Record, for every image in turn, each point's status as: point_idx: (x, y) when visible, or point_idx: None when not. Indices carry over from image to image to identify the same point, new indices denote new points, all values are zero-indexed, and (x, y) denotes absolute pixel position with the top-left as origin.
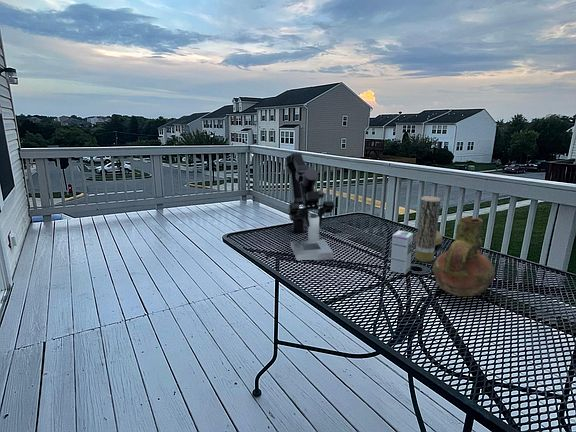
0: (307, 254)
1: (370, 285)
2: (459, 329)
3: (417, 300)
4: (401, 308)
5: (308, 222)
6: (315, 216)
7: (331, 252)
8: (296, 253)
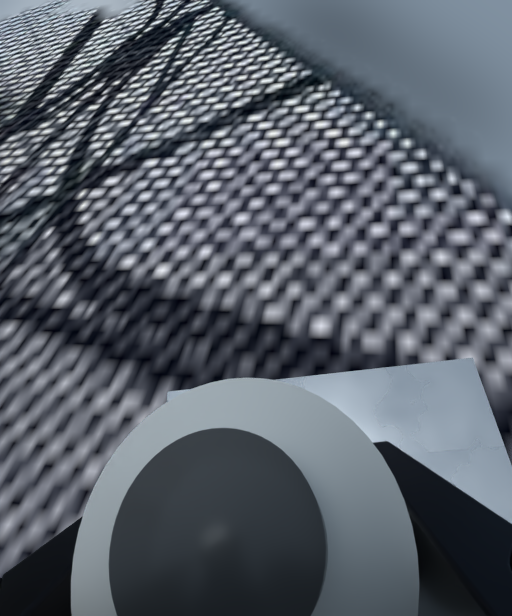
0: (376, 369)
1: (131, 168)
2: (56, 53)
3: (53, 117)
4: (117, 87)
5: (393, 471)
6: (191, 449)
7: (182, 390)
8: (477, 386)
